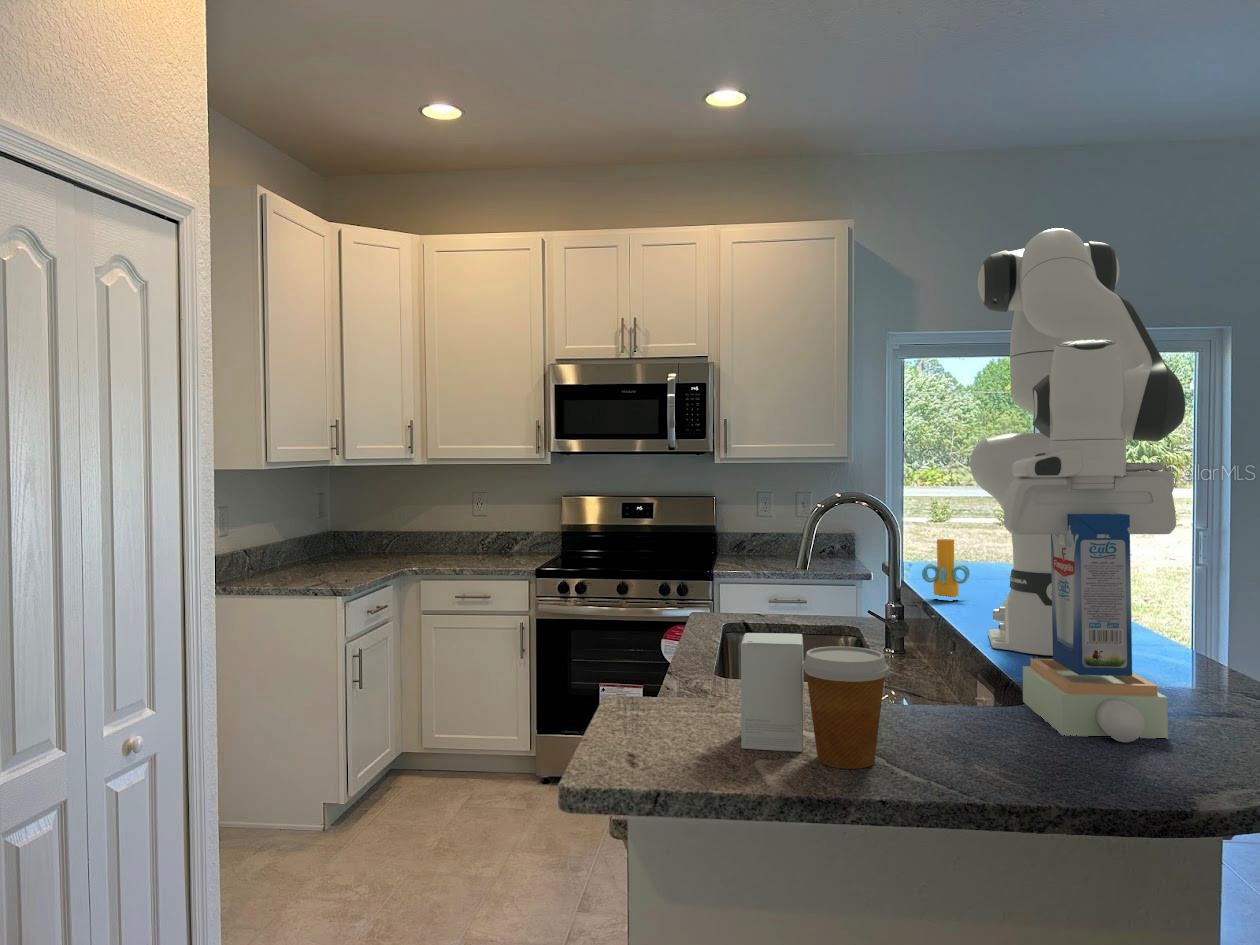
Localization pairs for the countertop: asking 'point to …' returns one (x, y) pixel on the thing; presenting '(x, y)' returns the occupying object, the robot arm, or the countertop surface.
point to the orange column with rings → (945, 570)
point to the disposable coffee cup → (845, 703)
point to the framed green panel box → (1095, 702)
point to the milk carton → (1093, 595)
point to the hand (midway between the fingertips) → (1088, 569)
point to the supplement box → (772, 691)
